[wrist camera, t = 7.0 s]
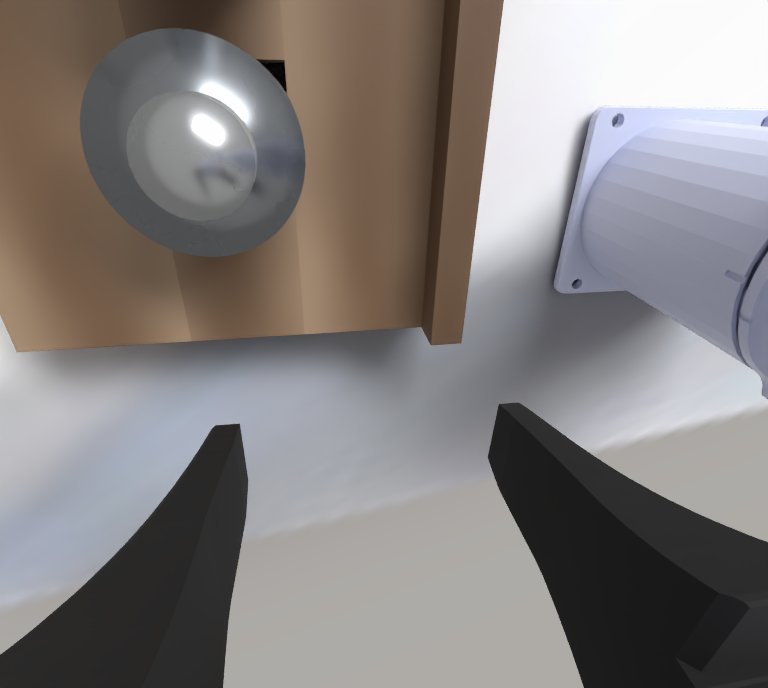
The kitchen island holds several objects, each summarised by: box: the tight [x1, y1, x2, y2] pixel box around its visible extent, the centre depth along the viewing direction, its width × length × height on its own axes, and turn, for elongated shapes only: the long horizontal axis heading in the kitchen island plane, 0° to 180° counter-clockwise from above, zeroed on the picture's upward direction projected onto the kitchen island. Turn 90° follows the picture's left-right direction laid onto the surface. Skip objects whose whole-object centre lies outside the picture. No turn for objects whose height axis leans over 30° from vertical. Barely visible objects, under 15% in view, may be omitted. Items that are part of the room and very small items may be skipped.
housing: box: [0, 0, 504, 352], centre depth 13 cm, size 16×20×4 cm
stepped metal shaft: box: [80, 28, 306, 257], centre depth 14 cm, size 5×5×7 cm
